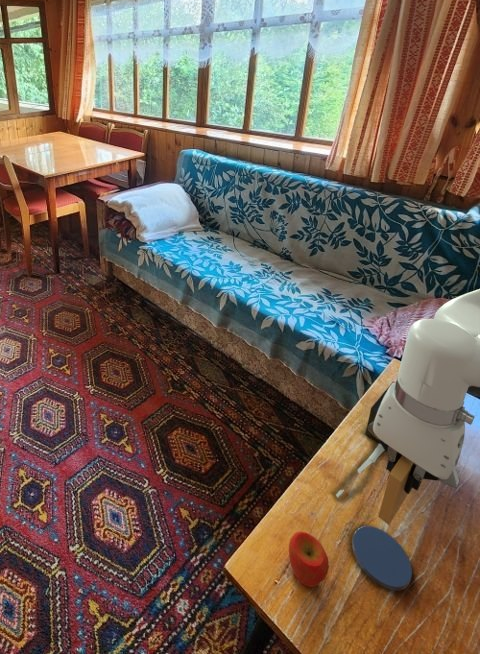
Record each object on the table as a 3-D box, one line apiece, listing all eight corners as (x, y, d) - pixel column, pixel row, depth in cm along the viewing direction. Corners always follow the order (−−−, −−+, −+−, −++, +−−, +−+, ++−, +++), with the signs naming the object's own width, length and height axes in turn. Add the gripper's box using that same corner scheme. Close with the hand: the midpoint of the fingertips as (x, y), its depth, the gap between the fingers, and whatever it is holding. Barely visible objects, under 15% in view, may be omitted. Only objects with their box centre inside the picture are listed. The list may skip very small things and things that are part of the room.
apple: (330, 575, 66) (336, 550, 64) (314, 606, 63) (319, 581, 60) (296, 543, 71) (300, 519, 68) (279, 570, 67) (283, 545, 65)
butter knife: (407, 434, 89) (393, 424, 91) (346, 505, 76) (332, 492, 79) (406, 435, 89) (392, 426, 92) (345, 507, 76) (331, 494, 79)
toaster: (386, 407, 96) (393, 381, 93) (423, 429, 90) (431, 402, 87) (363, 437, 90) (369, 409, 86) (401, 463, 83) (409, 435, 80)
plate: (402, 540, 70) (403, 536, 70) (418, 601, 62) (419, 597, 62) (348, 522, 74) (349, 518, 73) (356, 577, 66) (357, 573, 65)
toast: (401, 479, 66) (413, 437, 62) (412, 486, 64) (425, 444, 61) (377, 516, 61) (389, 473, 57) (388, 525, 59) (401, 482, 56)
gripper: (506, 421, 50) (471, 508, 57) (378, 355, 63) (360, 433, 69) (490, 455, 46) (454, 544, 53) (357, 377, 59) (340, 457, 65)
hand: (401, 480), depth 61 cm, fingers closed on toast, 1 cm apart
